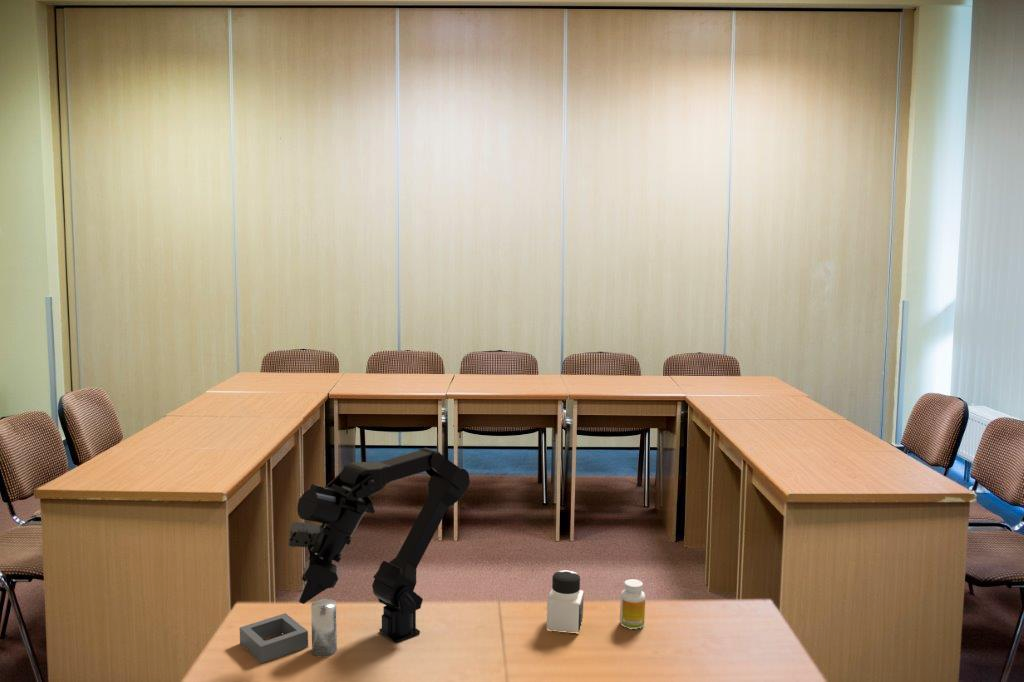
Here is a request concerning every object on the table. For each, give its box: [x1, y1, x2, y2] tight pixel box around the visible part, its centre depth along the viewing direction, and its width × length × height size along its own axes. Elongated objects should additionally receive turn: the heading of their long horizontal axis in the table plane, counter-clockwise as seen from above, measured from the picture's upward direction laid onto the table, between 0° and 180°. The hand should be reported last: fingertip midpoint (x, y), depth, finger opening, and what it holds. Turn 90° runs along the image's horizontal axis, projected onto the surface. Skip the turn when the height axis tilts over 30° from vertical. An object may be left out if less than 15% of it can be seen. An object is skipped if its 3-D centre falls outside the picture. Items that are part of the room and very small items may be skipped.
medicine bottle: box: [546, 569, 585, 633], centre depth 181 cm, size 7×7×12 cm
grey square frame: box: [239, 612, 309, 664], centre depth 171 cm, size 10×10×4 cm
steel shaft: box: [310, 598, 338, 658], centre depth 169 cm, size 5×5×10 cm
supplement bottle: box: [619, 578, 646, 629], centre depth 183 cm, size 5×5×10 cm
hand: (302, 591), depth 165 cm, fingers open, 9 cm apart
